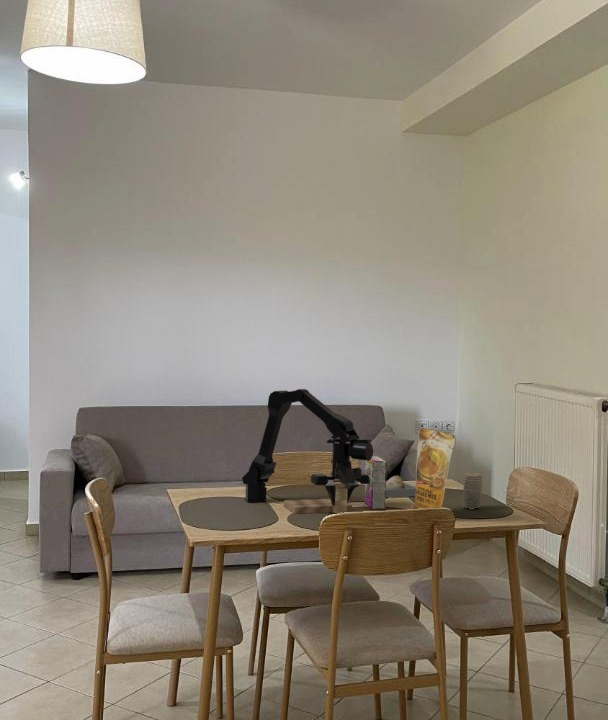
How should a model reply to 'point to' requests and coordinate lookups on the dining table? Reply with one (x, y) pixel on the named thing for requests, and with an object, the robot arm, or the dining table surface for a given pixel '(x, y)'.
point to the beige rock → (395, 483)
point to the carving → (472, 490)
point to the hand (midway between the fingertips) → (339, 505)
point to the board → (310, 506)
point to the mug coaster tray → (401, 491)
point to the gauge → (340, 500)
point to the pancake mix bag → (432, 466)
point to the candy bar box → (375, 483)
